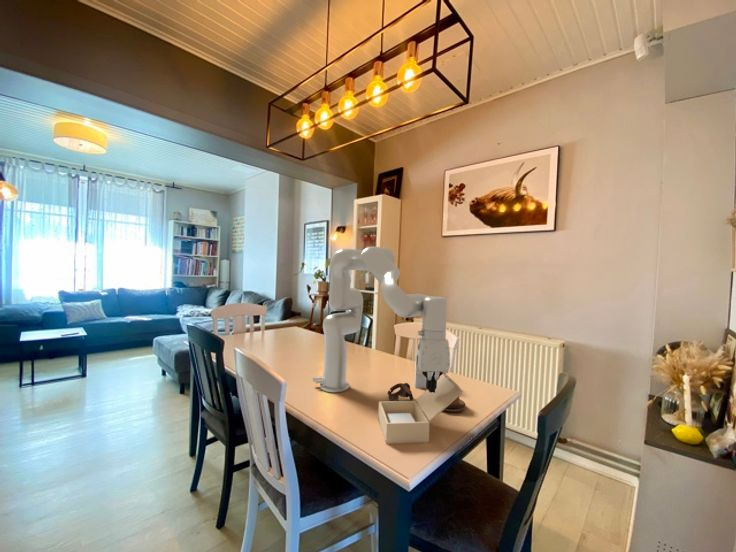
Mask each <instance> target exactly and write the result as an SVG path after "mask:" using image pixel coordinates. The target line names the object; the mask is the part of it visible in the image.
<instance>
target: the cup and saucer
mask: <svg viewBox="0 0 736 552" xmlns="http://www.w3.org/2000/svg"><path fill="white" fill-rule="evenodd" d="M465 408H466V402H465V401H463V400H462V399H460V395H459V396H458V397H457V398H456V399H455V400H454V401H453V402H452V403H451V404H450V405H448V406H447V407H446V408H445V409H444V410H443V411H445V412H453V413H454V412H461V411H463V410H464V409H465Z"/></svg>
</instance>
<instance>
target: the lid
mask: <svg viewBox="0 0 736 552" xmlns="http://www.w3.org/2000/svg"><path fill="white" fill-rule="evenodd" d="M463 393H464V390H463V389H462V388H461V387H460V385H458V383H457V382H455V381H454V380H453V379H452V377H450V376H449V375H448V374H447V373H446V374H442V375H441V376H440V379H439V380H437V388H436V389H435V393H433V392H432V393H430V392H429V391H428V389H427V388H426V390H425V391H424V392H423V393H422V394H420V395H419V396H418V397H417V398H416V399H415V401H416V402H417V404H418V405H419V407H420V408H421V410H422V411H423V413H424V415H425V416H426V418H427V419H428V421H429V422H430V423H431V422H432V421H433V420H435V418H437V417H438V416H439V415H440V414H441V413H442V412H443V411H445V410H444V409H445V408H446V407H447V406H448V405H450V404H451V403H452V402H453V401H454V400H455V399H456V398H457V397H458V396H459V397H460V396H461V395H462V394H463Z"/></svg>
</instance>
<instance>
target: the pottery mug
mask: <svg viewBox="0 0 736 552" xmlns="http://www.w3.org/2000/svg"><path fill="white" fill-rule="evenodd" d="M397 389H399V390H397ZM396 390H397V391H396ZM394 391H396V392H394ZM393 392H394V393H393ZM387 395H388V401H399V397H401V398H409V401H415V400H414V396H413V393H412V390H411V386H410V384H409V383H408V382H405V383H401V382H398V383H396V384H394V385H392V386H391V387H390V388H389V390H388V391H387Z"/></svg>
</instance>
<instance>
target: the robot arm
mask: <svg viewBox="0 0 736 552" xmlns="http://www.w3.org/2000/svg"><path fill="white" fill-rule="evenodd" d="M395 257H396V256H395V254H394V252H393V250H391V249H390V248H388V247H384V246H367V247H366V248H364V249H354V248H353V249H352V248H341V249H339V250H336V251H335V252H334V253H333V255H332V256H331V260H330V262H329V263H330V265H329V267H330V268H329V269H330V283H329V284H330V285H329V295H328V305H329V308H330V309H331V310H332V311H337V313H332V314H328V315H327V316H325V318H323V321H322V322H323V323H322V330H323V333H324V334H323V336H324V357H323V359H324V361H323V362H324V363H323V375H322V376H319V377H318V376H314V377H313V378H312V382H313V383H315V384H319V388H320V390H322V391H324V392H327V393H341V392H345V391H348V390H349V389H350V383H349V382H348V381H347V357H348V355H347V354H348V346H347V344H348V343H347V342H346V340H345V338H344V336H345V335H350V334H354V333H355V334H356V333H357V332H358V331H359V330H360V328H361V325H362V317H363V309H364V297H363V294H362V292H361V290H359V289H357V288H354V287H351V284H352V283H351V282H352V279H351V278H352V277H351V275H350V273H349V270H351V271H368V272H370V273H371V275H372V276H373V277H374V278H375V279H376V280H377V282H379V284H380V289H381V291H380V292H381V294H382V298H383V300H384V301H385V304H387V306H388V307H389V308H390V309H391V311H393V312H394V313H395V314H396V315H397V316H398V317H401V318H413V317H419V316H422V324H421V325H422V327H421V330H418V331H417V335H418V336H421V337H419V340H418V344H417V351H416V357H415V358H416V359H415V360H416V366H417V367H416V372H417V373H418V374H423V375H424V376H425V377H426V388H425V389H426V390H427V389H428V391H429V392H430V393H432V392H433V393H435V389H436V388H437V380H438V379H439V377H440V378H441V377H442V376H443V374H446V375H447V374H448V373H449V371H450V367H451V358H450V357H451V355H450V344H449V340H448V339H447V338H446V337H447V319H448V318H447V317H448V316H447V314H448V300H447V298H445V297H443V296H433V295H431V296H430V295H427V294H424V293H410V294H406V293H405V292H404V291H403V289H401V288H400V286H399V285H398V284H397V280H398V279H399V278H400V274H401V272H400V269H399V268H398V267H397V265H395V262H396V261H395V260H396V258H395ZM339 311H340V312H339ZM341 311H343V312H341ZM344 311H345V312H344ZM431 372H433V373H432V377H431Z"/></svg>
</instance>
